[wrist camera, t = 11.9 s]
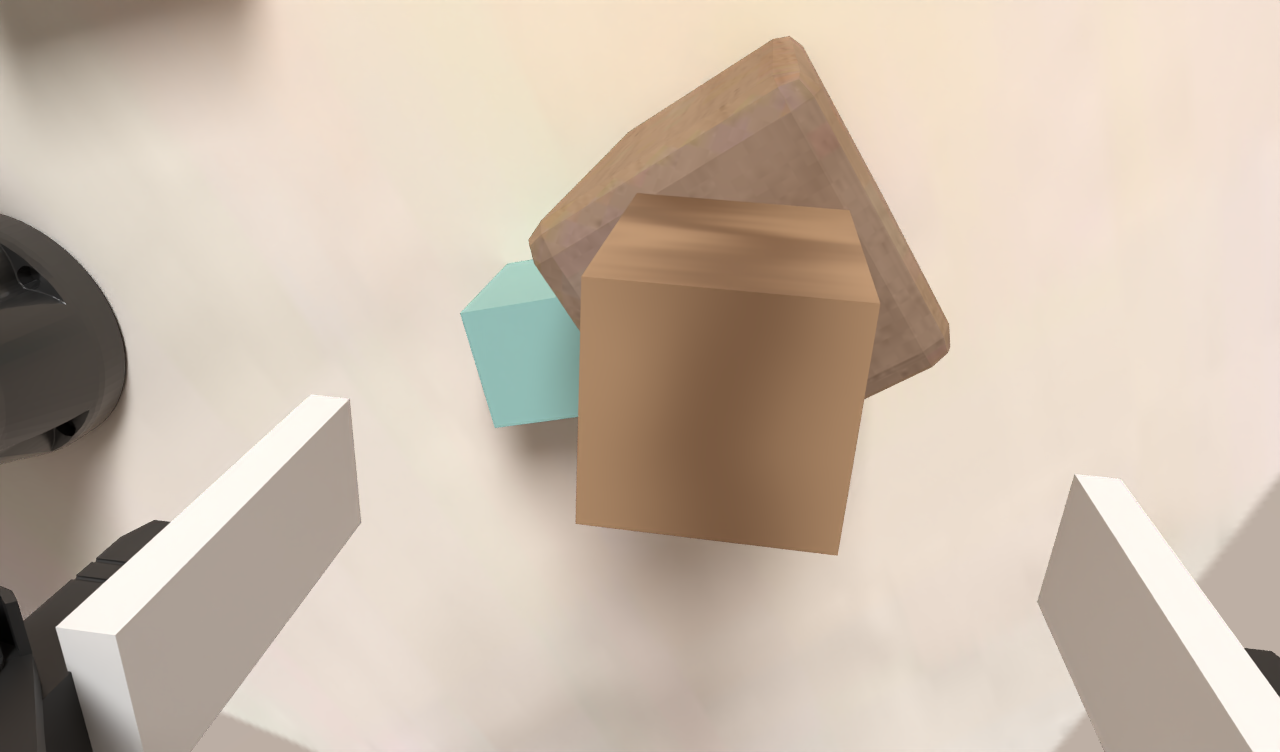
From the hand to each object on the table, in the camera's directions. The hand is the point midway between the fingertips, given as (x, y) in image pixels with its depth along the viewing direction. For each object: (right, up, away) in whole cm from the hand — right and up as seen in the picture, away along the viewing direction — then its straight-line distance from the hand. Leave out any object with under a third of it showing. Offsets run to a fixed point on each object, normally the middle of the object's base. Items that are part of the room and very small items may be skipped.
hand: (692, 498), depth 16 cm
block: (+5, +12, +28) cm, 31 cm away
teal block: (-5, +6, +32) cm, 33 cm away
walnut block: (+2, +4, +10) cm, 11 cm away
